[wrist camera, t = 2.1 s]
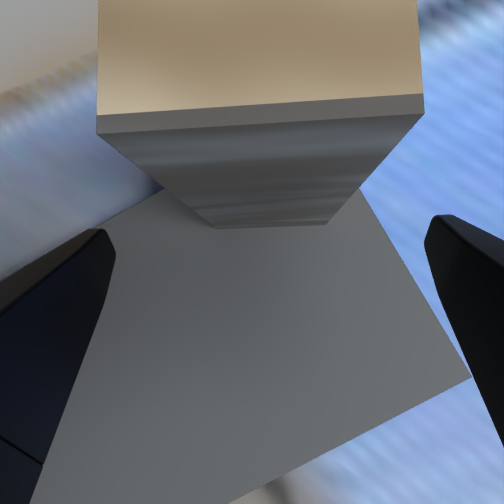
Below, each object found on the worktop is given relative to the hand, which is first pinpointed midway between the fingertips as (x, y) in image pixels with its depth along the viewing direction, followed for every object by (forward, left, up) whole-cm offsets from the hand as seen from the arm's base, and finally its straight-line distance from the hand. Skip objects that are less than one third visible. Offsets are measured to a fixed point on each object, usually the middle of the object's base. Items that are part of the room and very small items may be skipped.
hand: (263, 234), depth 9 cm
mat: (-2, +7, -11) cm, 13 cm away
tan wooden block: (+3, -1, -10) cm, 11 cm away
